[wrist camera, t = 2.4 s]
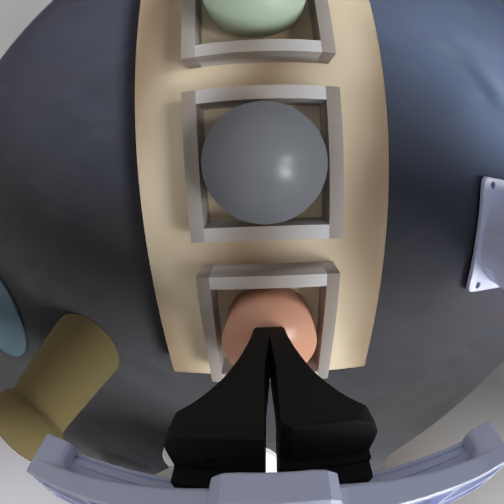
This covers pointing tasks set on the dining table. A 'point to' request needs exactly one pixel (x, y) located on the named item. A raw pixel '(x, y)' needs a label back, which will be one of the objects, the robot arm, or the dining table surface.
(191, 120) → the button board
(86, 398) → the cork
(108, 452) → the dining table surface
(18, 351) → the cocktail glass
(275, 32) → the sage button
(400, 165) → the dining table surface
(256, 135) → the charcoal button
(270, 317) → the terracotta button
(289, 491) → the robot arm
